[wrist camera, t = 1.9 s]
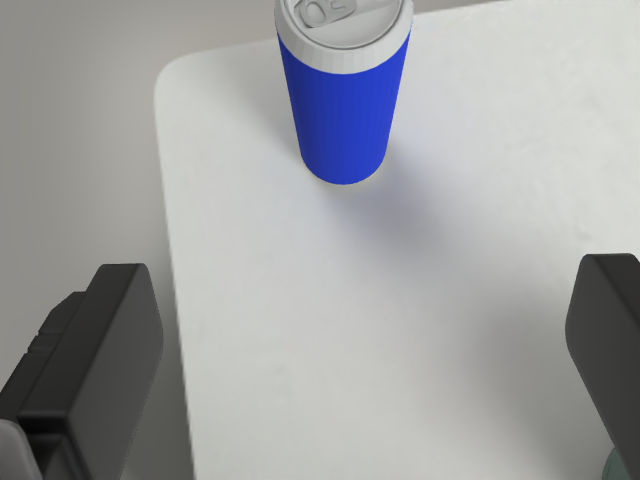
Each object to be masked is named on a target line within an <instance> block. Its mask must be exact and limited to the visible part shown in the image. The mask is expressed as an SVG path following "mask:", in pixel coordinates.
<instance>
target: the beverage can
mask: <svg viewBox="0 0 640 480" xmlns="http://www.w3.org/2000/svg"><path fill="white" fill-rule="evenodd" d="M274 15H275V24H276V30H277V35H278V40H279V45H280V50H281V55H282V60H283V65H284V70H285V75H286V80H287V86H288V91H289V96H290V101H291V106H292V111H293V116H294V121H295V126H296V131H297V137H298V142H299V147H300V151H301V156H302V158H303V161H304V163H305V164H306V166H307V167H308V169H309V170H310V171H311V172H312V173H313V174H314V175H316V176H317V177H319V178H320V179H322V180H324V181H326V182H329V183H333V184H341V185H345V184H353V183H357V182H359V181H362V180H364V179H366V178H367V177H369V176H370V175H371V174H373V173H374V172H375V171H376V170H377V168H378V167H379V166H380V164H381V163H382V161H383V158H384V156H385V152H386V148H387V143H388V138H389V133H390V128H391V123H392V119H393V114H394V109H395V104H396V99H397V94H398V89H399V85H400V80H401V75H402V70H403V65H404V60H405V56H406V51H407V46H408V41H409V36H410V31H411V26H412V22H413V0H276V1H275V9H274Z"/></svg>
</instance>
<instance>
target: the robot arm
mask: <svg viewBox="0 0 640 480" xmlns="http://www.w3.org/2000/svg"><path fill="white" fill-rule="evenodd" d="M38 332H39V334H38V336H35V338H34V339H33V341H32V342H31V344H30V346H29V347H28V352H27V353H25V354H24V355H23V357H22V358H21V360H20V362H19V363H18V365H17V366H16V368H15V370H14V371H13V373H12V375H11V376H10V378H9V380H8V381H7V383H6V384H5V386H4V387H3V389H2V391H1V392H0V480H120V477H121V474H122V471H123V468H124V465H125V462H126V460H127V457H128V454H129V451H130V447H131V445H132V442H133V439H134V436H135V433H136V430H137V427H138V424H139V421H140V418H141V416H142V412H143V410H144V407H145V404H146V401H147V398H148V395H149V392H150V389H151V386H152V383H153V380H154V377H155V374H156V371H157V368H158V366H159V363H160V360H161V355H162V351H163V328H162V323H161V319H160V315H159V311H158V306H157V302H156V299H155V294H154V290H153V287H152V282H151V278H150V274H149V271H148V268H147V267H146V265H145V264H143V263H140V264H139V263H138V264H137V263H136V264H103V265H101V266H100V267H99V269H98V271H97V272H96V274H95V276H94V277H93V279H92V281H91V283H90V285H89V286H88V288H87V290H86V291H84V292H73V293H72V294H70V295H69V296H68V297H67V298H66V299H64V300H63V301H62V302H61V303H60V304H58V305H57V306H56V307H55V308H53V309H52V310H51V312H50V313H49V315H48V317H47V318H46V320H45V322H44V323H43V325H42V326H41V328H40V329H39V331H38ZM565 334H566V342H567V346H568V350H569V352H570V355H571V357H572V359H573V361H574V363H575V365H576V367H577V369H578V371H579V373H580V376H581V378H582V380H583V382H584V384H585V386H586V388H587V390H588V392H589V394H590V396H591V398H592V400H593V402H594V405H595V407H596V409H597V411H598V413H599V415H600V417H601V419H602V421H603V423H604V425H605V427H606V429H607V432H608V434H609V436H610V438H611V440H612V442H613V444H614V446H615V448H616V450H617V452H618V454H619V456H620V458H621V461H622V463H623V465H624V467H625V469H626V471H627V473H628V475H629V477H630V479H631V480H640V262H639V261H638V259H637V258H636V257H635V256H634V255H632V254H630V253H618V254H587V255H585V256H584V257H583V258H582V260H581V262H580V265H579V269H578V273H577V277H576V281H575V285H574V289H573V293H572V297H571V301H570V305H569V309H568V313H567V317H566V324H565Z"/></svg>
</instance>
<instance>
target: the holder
mask: <svg viewBox="0 0 640 480" xmlns="http://www.w3.org/2000/svg"><path fill="white" fill-rule="evenodd" d="M602 480H631V479H630V477H629V475H628V473H627V471H626V469H625V467H624V465H623V463H622V461H621V458H620V456H619V454H618V452H617V450H616V448H614V449H613V450H612V452H611V454H610V456H609V458H608V459H607V462H606V465H605V468H604V471H603V476H602Z"/></svg>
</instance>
